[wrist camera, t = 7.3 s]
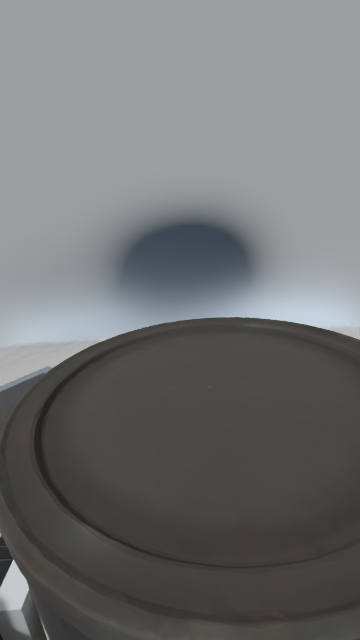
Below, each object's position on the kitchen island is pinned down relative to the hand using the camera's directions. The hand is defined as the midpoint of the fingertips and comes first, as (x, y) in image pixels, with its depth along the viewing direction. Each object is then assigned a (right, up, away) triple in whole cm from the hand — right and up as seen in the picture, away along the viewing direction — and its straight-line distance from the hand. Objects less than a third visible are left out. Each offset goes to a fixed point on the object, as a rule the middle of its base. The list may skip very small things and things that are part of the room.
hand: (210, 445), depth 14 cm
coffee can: (+1, -9, -1) cm, 10 cm away
